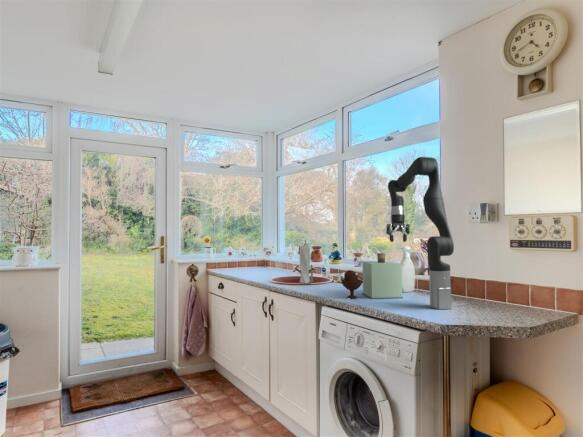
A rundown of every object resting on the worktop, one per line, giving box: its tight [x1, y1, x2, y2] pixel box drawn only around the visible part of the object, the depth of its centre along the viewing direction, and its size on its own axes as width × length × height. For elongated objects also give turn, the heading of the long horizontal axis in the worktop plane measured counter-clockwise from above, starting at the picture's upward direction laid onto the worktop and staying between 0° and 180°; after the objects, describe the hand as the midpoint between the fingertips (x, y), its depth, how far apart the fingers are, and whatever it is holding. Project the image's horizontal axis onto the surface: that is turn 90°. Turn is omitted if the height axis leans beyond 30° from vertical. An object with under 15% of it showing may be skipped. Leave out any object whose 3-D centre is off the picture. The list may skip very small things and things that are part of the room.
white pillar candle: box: [299, 242, 314, 285], centre depth 269 cm, size 8×8×28 cm
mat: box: [361, 292, 404, 300], centre depth 213 cm, size 17×17×1 cm
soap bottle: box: [398, 245, 416, 294], centre depth 227 cm, size 14×8×27 cm, turn 130°
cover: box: [362, 252, 403, 298], centre depth 213 cm, size 17×17×23 cm
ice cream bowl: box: [340, 269, 363, 300], centre depth 207 cm, size 11×11×15 cm
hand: (398, 241), depth 223 cm, fingers open, 8 cm apart
